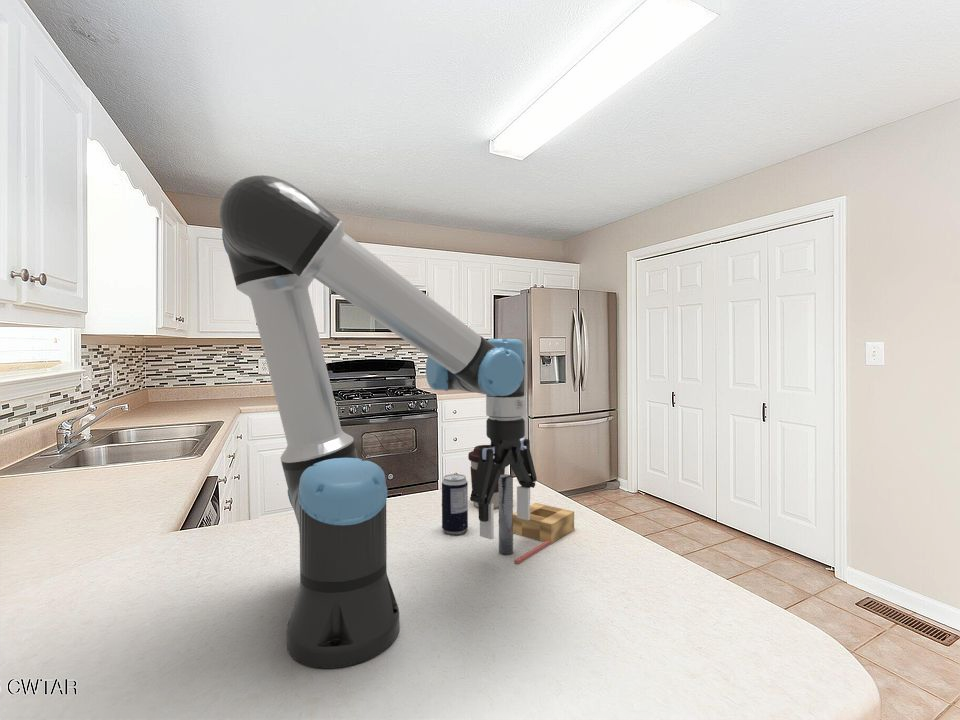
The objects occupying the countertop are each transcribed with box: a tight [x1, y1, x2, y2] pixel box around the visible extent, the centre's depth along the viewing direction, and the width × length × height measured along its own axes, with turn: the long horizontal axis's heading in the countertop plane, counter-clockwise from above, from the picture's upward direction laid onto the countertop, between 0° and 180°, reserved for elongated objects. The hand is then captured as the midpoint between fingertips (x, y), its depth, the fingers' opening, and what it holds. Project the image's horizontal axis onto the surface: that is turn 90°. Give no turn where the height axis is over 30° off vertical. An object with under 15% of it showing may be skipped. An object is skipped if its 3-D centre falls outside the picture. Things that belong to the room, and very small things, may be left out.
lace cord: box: [514, 540, 552, 565], centre depth 93 cm, size 12×1×1 cm, turn 141°
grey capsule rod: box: [498, 474, 514, 556], centre depth 93 cm, size 3×3×15 cm
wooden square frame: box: [513, 502, 575, 545], centre depth 104 cm, size 10×10×4 cm
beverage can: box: [441, 473, 469, 536], centre depth 104 cm, size 6×6×12 cm
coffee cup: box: [467, 444, 506, 509], centre depth 122 cm, size 10×10×15 cm
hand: (506, 527), depth 93 cm, fingers open, 12 cm apart
